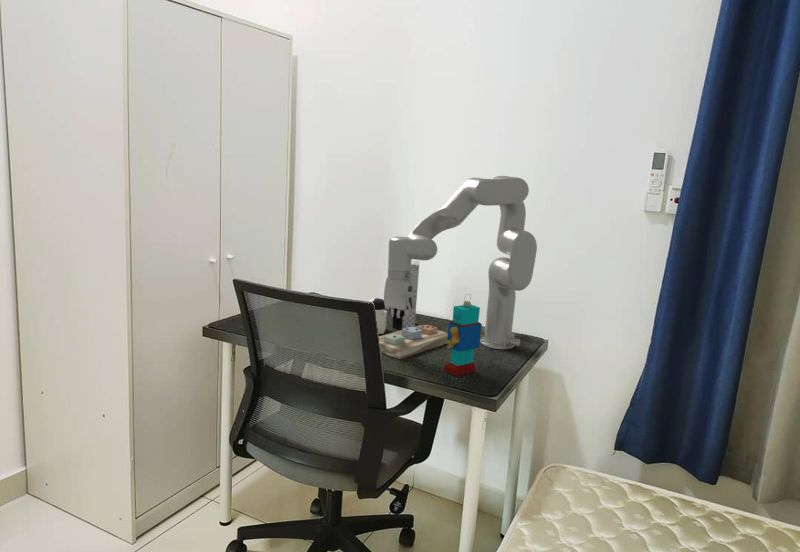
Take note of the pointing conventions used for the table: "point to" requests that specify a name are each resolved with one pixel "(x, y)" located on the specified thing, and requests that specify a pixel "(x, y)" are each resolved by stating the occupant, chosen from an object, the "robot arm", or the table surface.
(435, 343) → the wooden puzzle board
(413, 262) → the box
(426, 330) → the button three
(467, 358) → the toy robot
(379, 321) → the medicine bottle
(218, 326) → the table surface
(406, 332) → the button two
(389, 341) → the button one
